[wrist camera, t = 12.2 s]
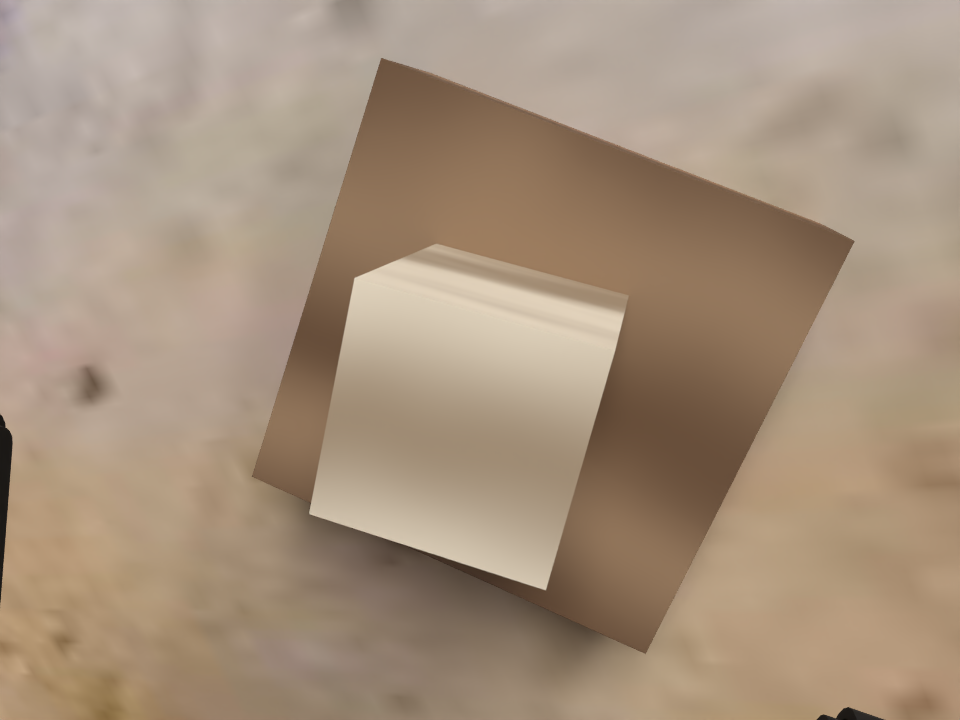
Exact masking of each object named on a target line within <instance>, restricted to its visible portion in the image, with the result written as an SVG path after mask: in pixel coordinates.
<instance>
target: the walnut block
mask: <svg viewBox="0 0 960 720" xmlns="http://www.w3.org/2000/svg"><path fill="white" fill-rule="evenodd" d="M853 243H854V241H853V240H851V239H850V238H848V237H846V236H844V235H842V234H840V233H838V232H836V231H834V230H832V229H830V228H828V227H826V226H824V225H822V224H820V223H817V222H815V221H812V220H810V219H807V218H804V217H802V216H799V215H797V214H794V213H791V212H789V211H786V210H784V209H781V208H779V207H776V206H773V205H771V204H768V203H766V202H763V201H760V200H758V199H755V198H753V197H750V196H747V195H745V194H742V193H740V192H737V191H735V190H732V189H729V188H727V187H724V186H722V185H719V184H716V183H714V182H711V181H709V180H706V179H703V178H701V177H698V176H696V175H693V174H691V173H688V172H685V171H683V170H680V169H678V168H675V167H672V166H670V165H667V164H665V163H662V162H659V161H657V160H654V159H652V158H649V157H646V156H644V155H641V154H639V153H636V152H634V151H631V150H628V149H626V148H623V147H621V146H618V145H615V144H613V143H610V142H608V141H605V140H602V139H600V138H597V137H595V136H592V135H590V134H587V133H584V132H582V131H579V130H577V129H574V128H571V127H569V126H566V125H564V124H561V123H558V122H556V121H553V120H551V119H548V118H546V117H543V116H540V115H538V114H535V113H533V112H530V111H527V110H525V109H522V108H520V107H517V106H514V105H512V104H509V103H507V102H504V101H502V100H499V99H496V98H494V97H491V96H489V95H486V94H483V93H481V92H478V91H476V90H473V89H470V88H468V87H465V86H463V85H460V84H458V83H455V82H452V81H450V80H447V79H445V78H442V77H439V76H437V75H434V74H432V73H429V72H425V71H422V70H419V69H416V68H412V67H409V66H406V65H402V64H399V63H396V62H393V61H389V60H386V59H383V58H381V61H380V64H379V67H378V70H377V74H376V77H375V80H374V83H373V87H372V90H371V93H370V96H369V100H368V103H367V106H366V109H365V113H364V116H363V119H362V122H361V125H360V129H359V132H358V135H357V138H356V142H355V145H354V148H353V151H352V155H351V158H350V161H349V164H348V168H347V171H346V174H345V177H344V181H343V184H342V187H341V190H340V193H339V197H338V200H337V203H336V206H335V210H334V213H333V216H332V219H331V223H330V226H329V229H328V232H327V236H326V239H325V242H324V245H323V249H322V252H321V255H320V258H319V261H318V265H317V268H316V271H315V274H314V278H313V281H312V284H311V287H310V291H309V294H308V297H307V300H306V304H305V307H304V310H303V313H302V317H301V320H300V323H299V326H298V329H297V333H296V336H295V339H294V342H293V346H292V349H291V352H290V355H289V359H288V362H287V365H286V368H285V372H284V375H283V378H282V381H281V385H280V388H279V391H278V394H277V397H276V401H275V404H274V407H273V410H272V414H271V417H270V420H269V423H268V427H267V430H266V433H265V436H264V440H263V443H262V446H261V449H260V453H259V456H258V459H257V462H256V465H255V469H254V472H253V475H252V477H254V478H256V479H259V480H261V481H263V482H265V483H267V484H270V485H272V486H274V487H276V488H279V489H281V490H283V491H285V492H287V493H290V494H292V495H294V496H296V497H299V498H301V499H303V500H305V501H307V502H310V503H311V501H312V496H313V491H314V486H315V480H316V475H317V470H318V465H319V460H320V454H321V449H322V444H323V439H324V434H325V429H326V423H327V418H328V413H329V408H330V403H331V397H332V392H333V387H334V382H335V377H336V372H337V366H338V361H339V356H340V351H341V346H342V341H343V335H344V330H345V325H346V320H347V315H348V309H349V304H350V299H351V294H352V289H353V284H354V278H356V277H358V276H360V275H363V274H365V273H368V272H370V271H372V270H375V269H377V268H380V267H382V266H384V265H387V264H389V263H391V262H394V261H396V260H399V259H401V258H403V257H406V256H408V255H411V254H413V253H415V252H418V251H420V250H422V249H425V248H427V247H430V246H432V245H434V244H439V245H443V246H447V247H451V248H454V249H458V250H462V251H465V252H469V253H473V254H477V255H480V256H484V257H488V258H491V259H495V260H499V261H503V262H506V263H510V264H514V265H517V266H521V267H525V268H529V269H532V270H536V271H540V272H544V273H547V274H551V275H555V276H558V277H562V278H566V279H570V280H573V281H577V282H581V283H584V284H588V285H592V286H596V287H599V288H603V289H607V290H610V291H614V292H618V293H622V294H625V295H629V297H628V301H627V305H626V309H625V313H624V317H623V321H622V325H621V329H620V333H619V337H618V341H617V345H616V349H615V353H614V356H613V360H612V363H611V367H610V370H609V374H608V377H607V381H606V384H605V387H604V391H603V394H602V398H601V401H600V405H599V408H598V412H597V415H596V419H595V422H594V425H593V429H592V432H591V436H590V439H589V443H588V446H587V450H586V453H585V457H584V460H583V464H582V467H581V470H580V474H579V477H578V481H577V484H576V488H575V491H574V495H573V498H572V502H571V505H570V508H569V512H568V515H567V519H566V522H565V526H564V529H563V533H562V536H561V540H560V543H559V546H558V550H557V553H556V557H555V560H554V564H553V567H552V571H551V574H550V578H549V581H548V585H547V588H546V590H543V589H540V588H537V587H534V586H531V585H528V584H525V583H521V582H518V581H515V580H512V579H509V578H506V577H503V576H500V575H497V574H494V573H490V572H487V571H484V570H481V569H478V568H475V567H472V566H469V565H466V564H462V563H459V562H456V561H453V560H450V559H447V558H444V557H441V556H438V555H435V554H431V553H428V552H425V551H422V550H419V549H416V548H413V547H410V546H407V545H405V546H407V547H410V548H412V549H414V550H416V551H418V552H421V553H423V554H425V555H427V556H430V557H432V558H434V559H436V560H438V561H441V562H443V563H445V564H447V565H450V566H452V567H454V568H456V569H458V570H461V571H463V572H465V573H467V574H470V575H472V576H474V577H476V578H478V579H481V580H483V581H485V582H487V583H490V584H492V585H494V586H496V587H498V588H501V589H503V590H505V591H507V592H510V593H512V594H514V595H516V596H518V597H521V598H523V599H525V600H527V601H530V602H532V603H534V604H536V605H538V606H541V607H543V608H545V609H547V610H550V611H552V612H554V613H556V614H558V615H561V616H563V617H565V618H567V619H569V620H572V621H574V622H576V623H578V624H581V625H583V626H585V627H587V628H589V629H592V630H594V631H596V632H598V633H601V634H603V635H605V636H607V637H609V638H612V639H614V640H616V641H618V642H621V643H623V644H625V645H627V646H629V647H632V648H634V649H636V650H638V651H641V652H643V653H645V654H646V652H647V650H648V648H649V646H650V644H651V642H652V640H653V638H654V636H655V634H656V632H657V630H658V628H659V626H660V624H661V622H662V620H663V618H664V616H665V614H666V612H667V610H668V608H669V606H670V604H671V602H672V600H673V598H674V596H675V594H676V593H677V591H678V589H679V587H680V585H681V583H682V581H683V579H684V577H685V575H686V573H687V571H688V569H689V567H690V565H691V563H692V561H693V559H694V557H695V555H696V553H697V551H698V549H699V547H700V545H701V543H702V541H703V539H704V537H705V535H706V533H707V531H708V529H709V527H710V525H711V523H712V521H713V519H714V518H715V516H716V514H717V512H718V510H719V508H720V506H721V504H722V502H723V500H724V498H725V496H726V494H727V492H728V490H729V488H730V486H731V484H732V482H733V480H734V478H735V476H736V474H737V472H738V470H739V468H740V466H741V464H742V462H743V460H744V458H745V456H746V454H747V452H748V450H749V448H750V446H751V444H752V442H753V441H754V439H755V437H756V435H757V433H758V431H759V429H760V427H761V425H762V423H763V421H764V419H765V417H766V415H767V413H768V411H769V409H770V407H771V405H772V403H773V401H774V399H775V397H776V395H777V393H778V391H779V389H780V387H781V385H782V383H783V381H784V379H785V377H786V375H787V373H788V371H789V369H790V367H791V366H792V364H793V362H794V360H795V358H796V356H797V354H798V352H799V350H800V348H801V346H802V344H803V342H804V340H805V338H806V336H807V334H808V332H809V330H810V328H811V326H812V324H813V322H814V320H815V318H816V316H817V314H818V312H819V310H820V308H821V306H822V304H823V302H824V300H825V298H826V296H827V294H828V292H829V290H830V289H831V287H832V285H833V283H834V281H835V279H836V277H837V275H838V273H839V271H840V269H841V267H842V265H843V263H844V261H845V259H846V257H847V255H848V253H849V251H850V249H851V247H852V245H853ZM403 545H404V544H403Z"/></svg>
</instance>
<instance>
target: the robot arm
mask: <svg viewBox="0 0 960 720" xmlns="http://www.w3.org/2000/svg"><path fill="white" fill-rule="evenodd" d="M12 444H13V443H12V435H11V433H10V431H9V430H8V429H7V428H5V422H4V419H3V417H2V415H0V601H1V588H2V575H3V562H4V549H5V536H6V523H7V510H8V496H9V483H10V470H11V457H12ZM817 720H884V719H881V718H878V717H875V716H872V715H869V714H866V713H864V712H861V711H858V710H855V709H852V708H849V707H847V708H844V709H843V710H842V711H841V712H840V713H839V714H838V716H837V718H833V717H830V716H827V715H821V716H820V717H819V718H818V719H817Z"/></svg>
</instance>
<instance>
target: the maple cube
mask: <svg viewBox="0 0 960 720" xmlns="http://www.w3.org/2000/svg"><path fill="white" fill-rule="evenodd" d="M628 297H629V295H625V294H622V293H618V292H614V291H610V290H607V289H603V288H599V287H596V286H592V285H588V284H584V283H581V282H577V281H573V280H570V279H566V278H562V277H558V276H555V275H551V274H547V273H544V272H540V271H536V270H532V269H529V268H525V267H521V266H517V265H514V264H510V263H506V262H503V261H499V260H495V259H491V258H488V257H484V256H480V255H477V254H473V253H469V252H465V251H462V250H458V249H454V248H451V247H447V246H443V245H439V244H434V245H432V246H430V247H427V248H425V249H422V250H420V251H418V252H415V253H413V254H411V255H408V256H406V257H403V258H401V259H399V260H396V261H394V262H391V263H389V264H387V265H384V266H382V267H380V268H377V269H375V270H372V271H370V272H368V273H365V274H363V275H360V276H358V277H356V278H354V284H353V289H352V294H351V299H350V304H349V309H348V315H347V320H346V325H345V330H344V335H343V341H342V346H341V351H340V356H339V361H338V366H337V372H336V377H335V382H334V387H333V392H332V397H331V403H330V408H329V413H328V418H327V423H326V429H325V434H324V439H323V444H322V449H321V454H320V460H319V465H318V470H317V475H316V480H315V486H314V491H313V496H312V501H311V506H310V511H309V514H310V515H314V516H317V517H320V518H323V519H326V520H329V521H332V522H335V523H338V524H341V525H345V526H348V527H351V528H354V529H357V530H360V531H363V532H366V533H369V534H373V535H376V536H379V537H382V538H385V539H388V540H391V541H394V542H397V543H400V544H404V545H407V546H410V547H413V548H416V549H419V550H422V551H425V552H428V553H431V554H435V555H438V556H441V557H444V558H447V559H450V560H453V561H456V562H459V563H462V564H466V565H469V566H472V567H475V568H478V569H481V570H484V571H487V572H490V573H494V574H497V575H500V576H503V577H506V578H509V579H512V580H515V581H518V582H521V583H525V584H528V585H531V586H534V587H537V588H540V589H543V590H546V588H547V585H548V581H549V578H550V574H551V571H552V567H553V564H554V560H555V557H556V553H557V550H558V546H559V543H560V540H561V536H562V533H563V529H564V526H565V522H566V519H567V515H568V512H569V508H570V505H571V502H572V498H573V495H574V491H575V488H576V484H577V481H578V477H579V474H580V470H581V467H582V464H583V460H584V457H585V453H586V450H587V446H588V443H589V439H590V436H591V432H592V429H593V425H594V422H595V419H596V415H597V412H598V408H599V405H600V401H601V398H602V394H603V391H604V387H605V384H606V381H607V377H608V374H609V370H610V367H611V363H612V360H613V356H614V353H615V349H616V345H617V341H618V337H619V333H620V329H621V325H622V321H623V317H624V313H625V309H626V305H627V301H628Z"/></svg>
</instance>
